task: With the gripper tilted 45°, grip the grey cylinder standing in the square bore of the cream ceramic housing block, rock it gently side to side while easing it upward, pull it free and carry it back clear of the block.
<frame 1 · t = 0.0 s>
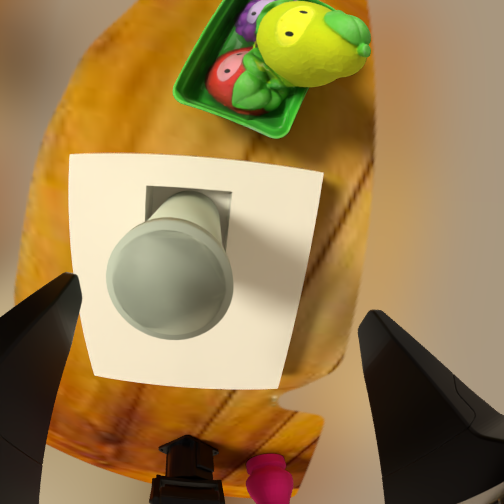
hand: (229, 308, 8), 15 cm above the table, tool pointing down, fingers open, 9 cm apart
fruit basket: (259, 68, 19), on the table
grey cylinder: (188, 221, 21), point 1 cm above the table, touching housing
housing: (189, 218, 22), on the table
pepper mill: (265, 460, 37), on the table
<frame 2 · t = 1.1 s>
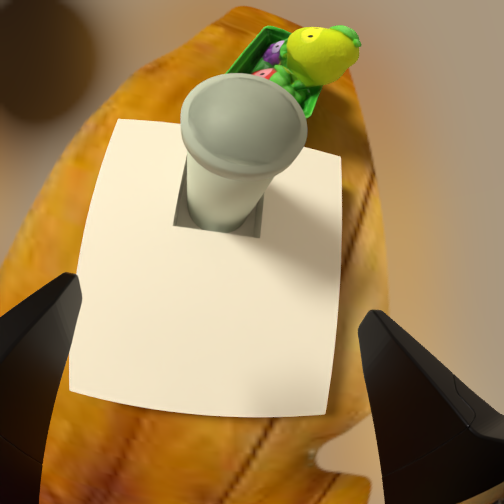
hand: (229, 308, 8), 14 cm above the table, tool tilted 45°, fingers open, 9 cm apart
fruit basket: (275, 100, 26), on the table
grey cylinder: (218, 203, 21), point 1 cm above the table, touching housing
housing: (217, 207, 22), on the table
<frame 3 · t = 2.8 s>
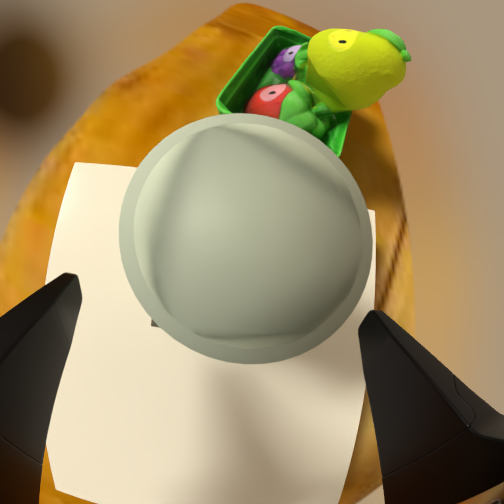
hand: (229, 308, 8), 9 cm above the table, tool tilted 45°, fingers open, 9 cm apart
fruit basket: (286, 123, 21), on the table
grey cylinder: (213, 279, 16), point 1 cm above the table, touching housing
housing: (212, 281, 17), on the table
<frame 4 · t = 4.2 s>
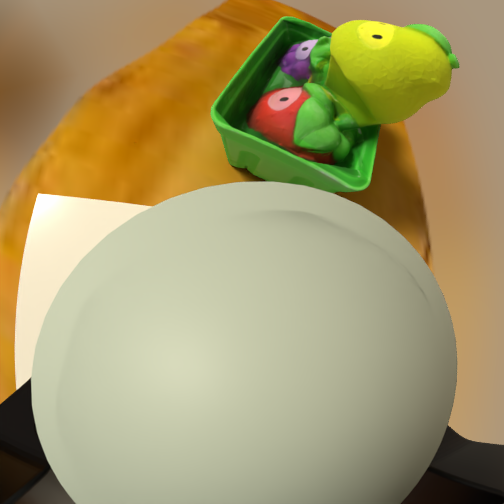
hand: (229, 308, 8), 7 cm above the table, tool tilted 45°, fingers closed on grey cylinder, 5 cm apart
fruit basket: (297, 134, 18), on the table
grey cylinder: (211, 335, 13), point 1 cm above the table, touching gripper, housing
housing: (209, 333, 14), on the table
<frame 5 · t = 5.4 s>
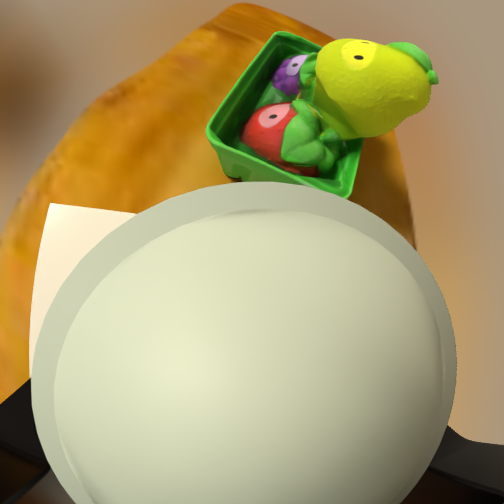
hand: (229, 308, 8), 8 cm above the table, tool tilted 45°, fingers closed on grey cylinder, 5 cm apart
fruit basket: (289, 144, 19), on the table
grey cylinder: (210, 335, 13), point 3 cm above the table, touching gripper
housing: (206, 329, 15), on the table
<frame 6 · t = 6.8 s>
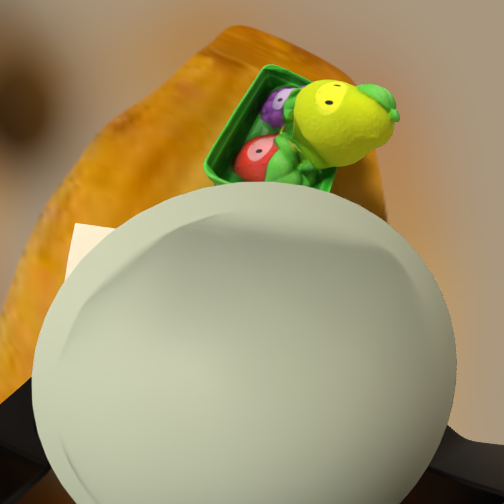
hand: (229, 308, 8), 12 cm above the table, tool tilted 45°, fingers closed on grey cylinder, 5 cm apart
fruit basket: (276, 166, 22), on the table
grey cylinder: (210, 335, 13), point 6 cm above the table, touching gripper
housing: (205, 325, 19), on the table
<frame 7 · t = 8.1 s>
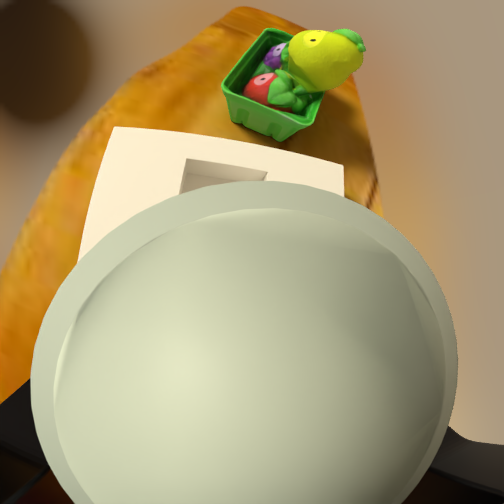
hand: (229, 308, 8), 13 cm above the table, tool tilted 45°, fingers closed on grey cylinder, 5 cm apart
fruit basket: (276, 104, 26), on the table
grey cylinder: (211, 335, 13), point 8 cm above the table, touching gripper
housing: (216, 217, 22), on the table
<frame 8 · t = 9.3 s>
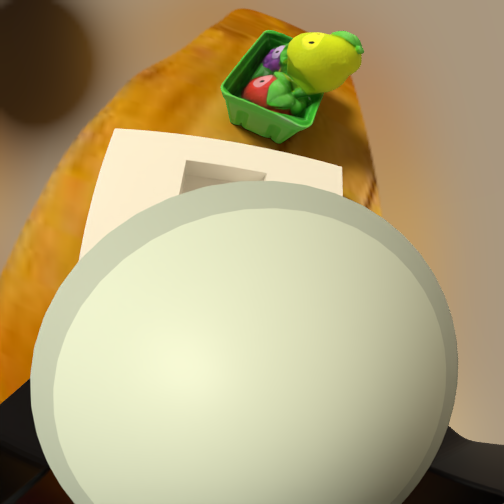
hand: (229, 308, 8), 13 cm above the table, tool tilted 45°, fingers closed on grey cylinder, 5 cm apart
fruit basket: (275, 106, 26), on the table
grey cylinder: (211, 335, 13), point 8 cm above the table, touching gripper
housing: (216, 218, 22), on the table
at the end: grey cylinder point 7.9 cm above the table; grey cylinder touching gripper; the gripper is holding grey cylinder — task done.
